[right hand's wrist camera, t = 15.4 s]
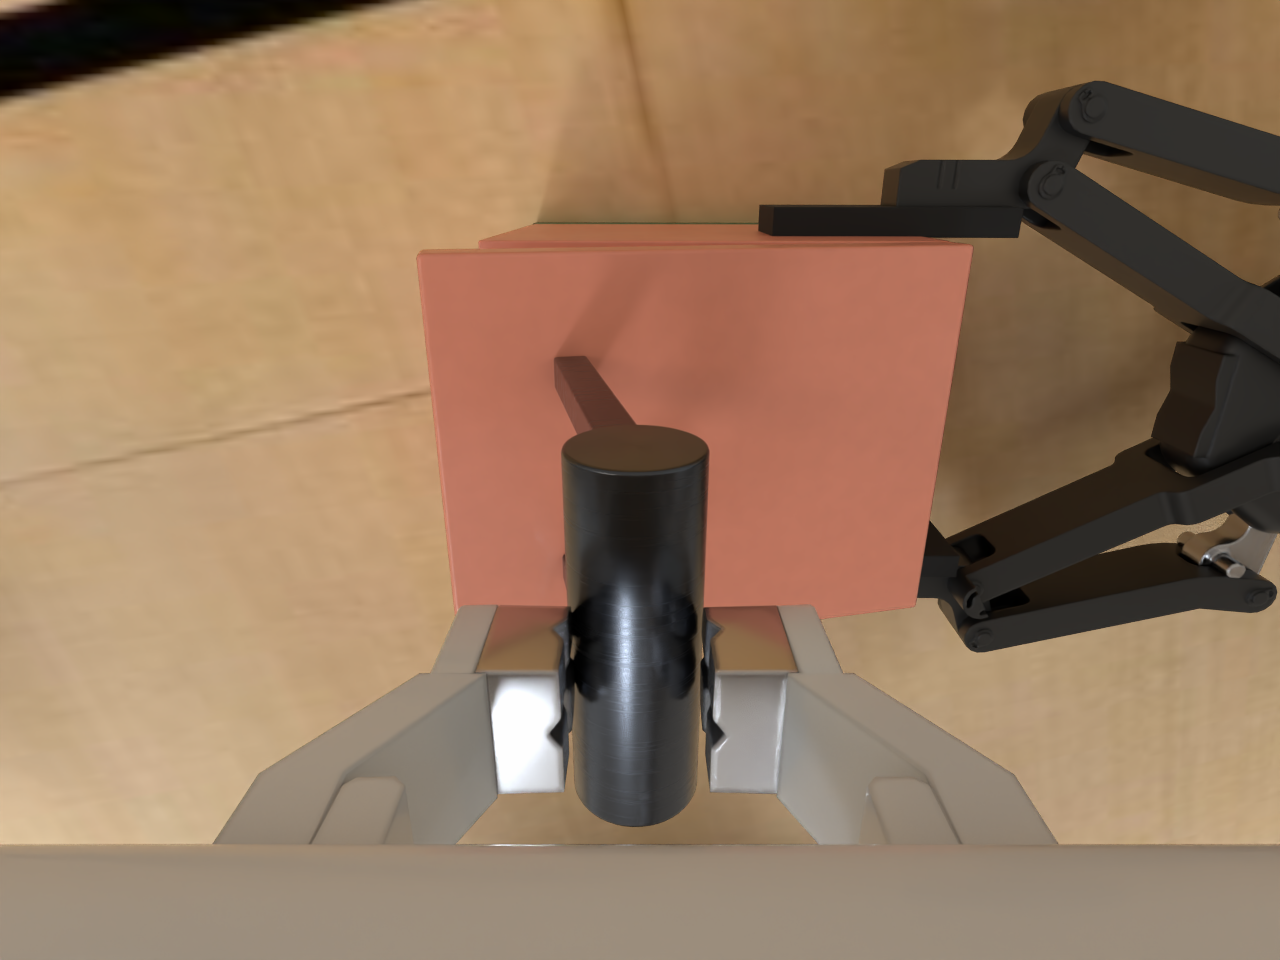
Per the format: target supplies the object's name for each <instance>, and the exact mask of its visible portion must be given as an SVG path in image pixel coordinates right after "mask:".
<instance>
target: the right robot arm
mask: <svg viewBox="0 0 1280 960" xmlns="http://www.w3.org/2000/svg"><path fill="white" fill-rule="evenodd" d="M701 635H702V643H703V651H704V658H703V659H702V660H701V661H700V707H701V719H702V729H703V731H704V732H705V733H706V750H705V755H706V763H707V771H708V779H709V786H710V792H723V793H759V794H777V798H778V799H779V800H780V801H781V803H782V804H783V805H784V806H785V807H786V808H787V809H788V810H789V812H790V813H791V814H792V815H793V816H794V817H795V818H796V819H797V821H798V822H799V823H800V824H801V825H802V826H803V827H804V828H805V830H806V831H807V832H808V833H809V834H810V835H811V836H812V837H813V839H814V840H815V841H816V842H817V843H818V844H456V843H457V842H458V841H459V840H460V839H461V837H462V836H463V835H464V834H465V833H466V832H467V831H468V830H469V829H470V827H471V826H472V825H473V824H474V823H475V822H476V821H477V820H478V819H479V817H480V816H481V815H482V814H483V813H484V812H485V811H486V810H487V809H488V807H489V806H490V805H491V804H492V803H493V802H494V801H495V800H496V799H497V794H514V793H549V792H564V788H565V780H566V773H567V765H568V758H569V739H568V733H569V732H570V731H571V730H572V726H573V717H574V701H575V670H574V661H573V659H572V658H571V657H570V655H571V648H572V641H573V622H572V610H571V606H528V605H500V606H498V605H497V604H492V605H463V606H461V607H460V608H459V609H458V611H457V614H456V616H455V618H454V620H453V623H452V625H451V627H450V630H449V632H448V634H447V636H446V639H445V641H444V643H443V645H442V648H441V650H440V652H439V655H438V657H437V659H436V661H435V664H434V666H433V668H432V671H431V673H419V674H418V675H416V676H415V677H413V678H411V679H410V680H408V681H407V682H405V683H403V684H402V685H400V686H399V687H397V688H395V689H394V690H392V691H391V692H389V693H387V694H386V695H384V696H383V697H381V698H379V699H378V700H376V701H375V702H373V703H371V704H370V705H368V706H367V707H365V708H363V709H362V710H360V711H358V712H357V713H355V714H354V715H352V716H350V717H349V718H347V719H346V720H344V721H342V722H341V723H339V724H338V725H336V726H334V727H333V728H331V729H330V730H328V731H326V732H325V733H323V734H322V735H320V736H318V737H317V738H315V739H314V740H312V741H310V742H309V743H307V744H306V745H304V746H302V747H301V748H299V749H298V750H296V751H294V752H293V753H291V754H290V755H288V756H286V757H285V758H283V759H282V760H280V761H278V762H277V763H275V764H273V765H272V766H270V767H269V768H267V769H265V770H264V771H262V772H261V773H259V774H258V776H257V777H256V779H255V780H254V782H253V783H252V785H251V786H250V788H249V789H248V791H247V792H246V794H245V796H244V797H243V799H242V800H241V802H240V803H239V805H238V806H237V808H236V809H235V811H234V812H233V814H232V815H231V817H230V818H229V820H228V821H227V823H226V824H225V826H224V827H223V829H222V830H221V832H220V833H219V835H218V836H217V838H216V839H215V841H214V843H213V844H80V845H0V960H1280V844H1058V843H1057V841H1056V839H1055V838H1054V836H1053V835H1052V833H1051V832H1050V830H1049V828H1048V827H1047V825H1046V824H1045V822H1044V821H1043V819H1042V817H1041V816H1040V814H1039V813H1038V811H1037V810H1036V808H1035V807H1034V805H1033V803H1032V802H1031V800H1030V799H1029V797H1028V796H1027V794H1026V792H1025V791H1024V789H1023V788H1022V786H1021V785H1020V783H1019V781H1018V780H1017V778H1016V777H1015V775H1014V774H1012V773H1011V772H1009V771H1008V770H1006V769H1004V768H1003V767H1001V766H1000V765H998V764H996V763H995V762H993V761H992V760H990V759H989V758H987V757H985V756H984V755H982V754H981V753H979V752H977V751H976V750H974V749H973V748H971V747H970V746H968V745H966V744H965V743H963V742H962V741H960V740H958V739H957V738H955V737H954V736H952V735H951V734H949V733H947V732H946V731H944V730H943V729H941V728H940V727H938V726H936V725H935V724H933V723H932V722H930V721H928V720H927V719H925V718H924V717H922V716H921V715H919V714H917V713H916V712H914V711H913V710H911V709H909V708H908V707H906V706H905V705H903V704H902V703H900V702H898V701H897V700H895V699H894V698H892V697H890V696H889V695H887V694H886V693H884V692H883V691H881V690H879V689H878V688H876V687H875V686H873V685H871V684H870V683H868V682H867V681H865V680H864V679H862V678H860V677H859V676H857V675H856V674H854V673H843V672H842V669H841V667H840V665H839V662H838V660H837V658H836V655H835V653H834V651H833V648H832V646H831V644H830V641H829V639H828V637H827V634H826V632H825V630H824V628H823V625H822V623H821V621H820V618H819V616H818V614H817V611H816V609H815V607H814V606H812V605H811V604H801V605H777V606H776V605H772V606H732V607H704V608H703V614H702V630H701Z"/></svg>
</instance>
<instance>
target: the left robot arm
mask: <svg viewBox="0 0 1280 960" xmlns="http://www.w3.org/2000/svg"><path fill="white" fill-rule="evenodd" d="M1023 125H1024V128H1023V130H1022V132H1021V134H1020V136H1019V138H1018V140H1017V142H1016V144H1015V145H1014V147H1013V148H1012V149H1011V150H1010V151H1009V152H1008V153H1007V154H1006V155H1005V156H1003V157H1002V158H1000V159H997V160H915V161H906V162H902V163H899V164H897V165H894V166H892V167H889V168H887V169H885V172H884V181H883V189H882V198H881V205H760V207H759V224H758V231H760V232H762V233H765V234H768V235H770V236H922V237H927V238H1018V236H1019V230H1020V225H1021V221H1022V222H1023V223H1025V224H1027V225H1028V226H1030V227H1031V228H1033V229H1034V230H1036V231H1037V232H1039V233H1041V234H1042V235H1044V236H1045V237H1047V238H1048V239H1050V240H1052V241H1053V242H1055V243H1056V244H1058V245H1059V246H1061V247H1062V248H1064V249H1066V250H1067V251H1069V252H1070V253H1072V254H1073V255H1075V256H1077V257H1078V258H1080V259H1081V260H1083V261H1084V262H1086V263H1087V264H1089V265H1091V266H1092V267H1094V268H1095V269H1097V270H1098V271H1100V272H1102V273H1103V274H1105V275H1106V276H1108V277H1109V278H1111V279H1112V280H1114V281H1116V282H1117V283H1119V284H1120V285H1122V286H1123V287H1125V288H1127V289H1128V290H1130V291H1131V292H1133V293H1134V294H1136V295H1137V296H1139V297H1141V298H1142V299H1144V300H1145V301H1147V302H1148V303H1150V304H1152V305H1153V306H1154V307H1155V308H1154V310H1155V311H1156V312H1158V313H1159V314H1161V315H1162V316H1164V317H1165V318H1167V319H1169V320H1170V321H1172V322H1173V323H1175V324H1176V325H1178V326H1179V327H1181V328H1183V329H1184V330H1186V331H1187V332H1189V333H1190V334H1191V335H1190V336H1189V338H1188V340H1187V341H1186V342H1177V344H1176V347H1175V351H1174V355H1173V358H1172V362H1171V366H1170V392H1169V394H1168V396H1167V397H1166V399H1165V401H1164V403H1163V405H1162V406H1161V408H1160V410H1159V412H1158V414H1157V417H1156V420H1155V424H1154V428H1153V431H1152V435H1151V437H1153V438H1151V439H1149V440H1147V441H1145V442H1142V443H1140V444H1138V445H1136V446H1133V447H1131V448H1129V449H1127V450H1124V451H1122V452H1121V453H1119V454H1118V455H1117V456H1116V457H1115V462H1114V463H1113V464H1112V465H1111V466H1109V467H1106V468H1104V469H1102V470H1100V471H1097V472H1095V473H1093V474H1091V475H1088V476H1086V477H1084V478H1082V479H1079V480H1077V481H1075V482H1073V483H1070V484H1068V485H1066V486H1064V487H1061V488H1059V489H1057V490H1054V491H1052V492H1050V493H1048V494H1045V495H1043V496H1041V497H1039V498H1036V499H1034V500H1032V501H1030V502H1027V503H1025V504H1023V505H1021V506H1018V507H1016V508H1014V509H1012V510H1009V511H1007V512H1005V513H1002V514H1000V515H998V516H996V517H993V518H991V519H989V520H987V521H984V522H982V523H980V524H978V525H975V526H973V527H971V528H969V529H966V530H964V531H962V532H960V533H957V534H955V535H953V536H950V537H948V538H946V539H945V538H944V537H943V536H942V535H941V533H940V532H939V531H938V530H937V529H936V527H935V526H934V525H933V524H932V523H931V522H930V520H929V526H928V532H927V538H926V544H925V551H924V557H923V563H922V569H921V575H920V581H919V587H918V594H917V598H938V605H939V607H940V609H941V611H942V612H943V613H944V615H945V616H946V618H947V619H948V621H949V622H950V624H951V625H952V626H953V628H954V629H955V631H956V632H957V634H958V635H959V637H960V638H961V639H962V641H963V642H964V644H965V645H966V647H968V648H969V649H970V650H971V651H974V652H988V651H993V650H998V649H1002V648H1007V647H1012V646H1017V645H1022V644H1027V643H1032V642H1037V641H1042V640H1047V639H1052V638H1057V637H1061V636H1066V635H1071V634H1076V633H1081V632H1086V631H1091V630H1096V629H1101V628H1106V627H1111V626H1116V625H1120V624H1125V623H1130V622H1135V621H1140V620H1145V619H1150V618H1155V617H1160V616H1165V615H1170V614H1175V613H1180V612H1184V611H1189V610H1194V609H1199V608H1201V609H1212V610H1223V611H1235V612H1246V613H1254V612H1259V611H1262V610H1264V609H1266V608H1267V607H1269V606H1270V605H1271V604H1272V603H1273V601H1274V600H1275V599H1276V595H1277V589H1276V586H1275V585H1274V584H1273V583H1272V582H1270V581H1268V580H1267V579H1265V578H1264V577H1262V576H1261V575H1259V573H1260V570H1261V568H1262V566H1263V564H1264V562H1265V560H1266V557H1267V555H1268V553H1269V551H1270V549H1271V547H1272V544H1273V542H1274V540H1275V538H1276V536H1277V534H1278V533H1280V275H1279V276H1277V277H1275V278H1274V279H1272V280H1270V281H1269V282H1267V283H1265V284H1264V285H1262V286H1257V285H1255V284H1252V283H1249V282H1246V281H1244V280H1242V279H1241V278H1239V277H1237V276H1236V275H1234V274H1233V273H1231V272H1230V271H1228V270H1227V269H1225V268H1224V267H1222V266H1221V265H1219V264H1218V263H1216V262H1215V261H1213V260H1212V259H1210V258H1209V257H1207V256H1206V255H1204V254H1203V253H1201V252H1200V251H1198V250H1197V249H1195V248H1194V247H1192V246H1191V245H1189V244H1188V243H1186V242H1185V241H1183V240H1182V239H1180V238H1179V237H1177V236H1176V235H1174V234H1173V233H1171V232H1170V231H1168V230H1167V229H1165V228H1164V227H1162V226H1161V225H1159V224H1158V223H1156V222H1155V221H1153V220H1152V219H1150V218H1149V217H1147V216H1146V215H1144V214H1143V213H1141V212H1140V211H1138V210H1137V209H1135V208H1134V207H1132V206H1131V205H1129V204H1128V203H1126V202H1125V201H1123V200H1122V199H1120V198H1119V197H1117V196H1116V195H1114V194H1113V193H1111V192H1110V191H1108V190H1107V189H1105V188H1104V187H1102V186H1101V185H1099V184H1098V183H1096V182H1095V181H1093V180H1092V179H1090V178H1089V177H1087V176H1086V175H1084V174H1083V173H1081V172H1080V171H1078V170H1077V169H1075V168H1076V166H1077V164H1078V162H1079V160H1080V158H1081V156H1082V155H1083V154H1085V155H1089V156H1092V157H1095V158H1098V159H1102V160H1105V161H1108V162H1112V163H1115V164H1118V165H1121V166H1125V167H1128V168H1131V169H1135V170H1138V171H1141V172H1144V173H1148V174H1151V175H1154V176H1157V177H1161V178H1164V179H1167V180H1171V181H1174V182H1177V183H1180V184H1184V185H1187V186H1190V187H1194V188H1197V189H1200V190H1203V191H1207V192H1210V193H1213V194H1217V195H1220V196H1223V197H1226V198H1230V199H1233V200H1236V201H1241V202H1245V203H1249V204H1258V205H1274V206H1280V137H1279V136H1276V135H1273V134H1270V133H1267V132H1264V131H1260V130H1257V129H1254V128H1251V127H1248V126H1245V125H1241V124H1238V123H1235V122H1232V121H1229V120H1226V119H1222V118H1219V117H1216V116H1213V115H1210V114H1206V113H1203V112H1200V111H1197V110H1194V109H1191V108H1187V107H1184V106H1181V105H1178V104H1175V103H1172V102H1168V101H1165V100H1162V99H1159V98H1156V97H1152V96H1149V95H1146V94H1143V93H1140V92H1137V91H1133V90H1130V89H1127V88H1124V87H1121V86H1118V85H1114V84H1111V83H1108V82H1105V81H1092V82H1088V83H1084V84H1080V85H1075V86H1071V87H1067V88H1063V89H1059V90H1055V91H1051V92H1047V93H1044V94H1041V95H1038V96H1037V97H1035V98H1034V99H1033V100H1032V101H1031V102H1030V103H1029V105H1028V106H1027V108H1026V109H1025V112H1024V117H1023ZM1278 218H1279V219H1280V209H1279V211H1278ZM1175 471H1177V472H1178V473H1177V472H1175ZM1225 512H1226V513H1227V514H1229V516H1228V518H1227V520H1226V521H1225V523H1224V524H1223V525H1222V526H1220V527H1219V528H1217V529H1216V530H1213V531H1211V532H1204V533H1199V534H1194V533H1192V532H1188V531H1187V532H1184V533H1182V534H1181V535H1180V536H1179V537H1178V540H1177V543H1153V544H1146V545H1140V546H1135V547H1130V548H1125V549H1121V550H1116V551H1111V552H1107V553H1102V552H1104V551H1107V550H1109V549H1111V548H1114V547H1116V546H1118V545H1121V544H1123V543H1126V542H1128V541H1130V540H1133V539H1135V538H1137V537H1140V536H1142V535H1145V534H1147V533H1149V532H1152V531H1154V530H1156V529H1159V528H1161V527H1164V526H1166V525H1169V524H1181V525H1192V524H1197V523H1201V522H1203V521H1206V520H1208V519H1210V518H1213V517H1215V516H1218V515H1220V514H1222V513H1225ZM1099 553H1102V554H1099Z"/></svg>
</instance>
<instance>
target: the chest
mask: <svg viewBox="0 0 1280 960" xmlns="http://www.w3.org/2000/svg"><path fill="white" fill-rule="evenodd" d="M758 224H759V223H534V224H533V225H529V226H526V227H523V228H520V229H516V230H513V231H510V232H506V233H503V234H500V235H496V236H493V237H490V238H486V239H483V240H480V241H479V249H503V248H569V247H634V246H700V245H765V244H831V243H896V242H949V241H945V240H939V239H933V238H927V237H922V236H770V235H768V234H765V233H762V232H760V231H758Z"/></svg>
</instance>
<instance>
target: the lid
mask: <svg viewBox="0 0 1280 960" xmlns="http://www.w3.org/2000/svg"><path fill="white" fill-rule="evenodd" d="M972 255H973V246H972V245H970V244H962V243H953V242H896V243H831V244H765V245H700V246H634V247H569V248H503V249H437V250H422V251H420V252H419V254H418V255H417V267H418V277H419V286H420V295H421V305H422V314H423V323H424V333H425V342H426V351H427V360H428V370H429V379H430V388H431V398H432V407H433V416H434V425H435V435H436V444H437V453H438V463H439V472H440V481H441V491H442V500H443V509H444V518H445V528H446V537H447V546H448V556H449V565H450V574H451V584H452V593H453V602H454V611H455V616H456V614H457V611H458V609H459V608H460V607H461V606H463V605H492V604H497V605H498V606H500V605H528V606H571V610H572V622H573V641H572V648H571V655H570V657H571V658H572V659H573V661H574V670H575V701H574V717H573V726H572V733H573V758H574V781H575V788H576V792H577V794H578V796H579V798H580V800H581V801H582V803H583V804H584V805H585V807H586V808H587V809H588V810H589V811H591V812H592V813H593V814H594V815H596V816H597V817H599V818H601V819H603V820H605V821H607V822H610V823H613V824H616V825H621V826H629V827H643V826H650V825H654V824H658V823H661V822H664V821H666V820H668V819H670V818H672V817H674V816H675V815H677V814H678V813H680V812H681V811H682V810H683V809H684V808H685V807H686V806H687V804H688V803H689V802H690V800H691V799H692V797H693V795H694V792H695V790H696V785H697V767H698V741H699V715H700V661H701V660H702V635H701V630H702V614H703V608H704V607H732V606H772V605H776V606H777V605H801V604H811V605H812V606H814V607H815V609H816V611H817V614H818V616H819V618H820V619H826V618H834V617H841V616H849V615H857V614H864V613H872V612H880V611H887V610H895V609H903V608H910V607H914V606H915V605H916V600H917V594H918V587H919V581H920V575H921V569H922V563H923V557H924V551H925V544H926V538H927V532H928V526H929V520H930V514H931V507H932V501H933V495H934V489H935V483H936V477H937V471H938V464H939V458H940V452H941V446H942V440H943V434H944V427H945V421H946V415H947V409H948V403H949V397H950V391H951V384H952V378H953V372H954V366H955V360H956V354H957V347H958V341H959V335H960V329H961V323H962V317H963V311H964V304H965V298H966V292H967V286H968V280H969V274H970V267H971V261H972Z"/></svg>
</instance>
